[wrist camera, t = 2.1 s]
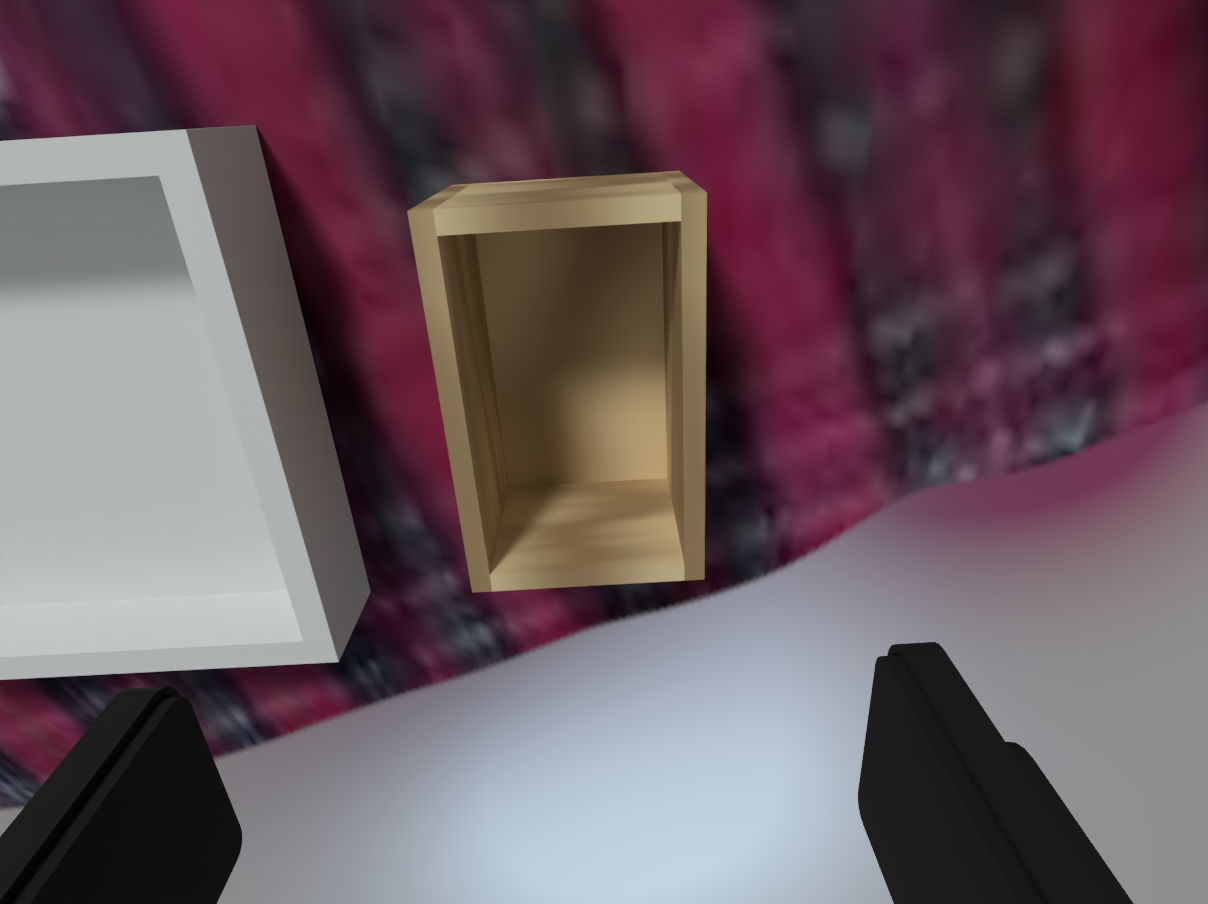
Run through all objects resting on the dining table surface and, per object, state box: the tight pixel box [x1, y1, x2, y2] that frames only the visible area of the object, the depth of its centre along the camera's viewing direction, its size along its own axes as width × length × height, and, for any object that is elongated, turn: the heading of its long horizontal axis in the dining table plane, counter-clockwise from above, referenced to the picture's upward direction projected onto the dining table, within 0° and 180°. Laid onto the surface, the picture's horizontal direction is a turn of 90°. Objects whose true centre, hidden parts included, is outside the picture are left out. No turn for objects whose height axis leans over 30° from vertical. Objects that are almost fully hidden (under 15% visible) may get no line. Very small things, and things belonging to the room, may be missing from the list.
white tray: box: [0, 125, 371, 680], centre depth 23 cm, size 18×17×4 cm
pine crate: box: [407, 171, 707, 592], centre depth 22 cm, size 7×11×6 cm, turn 3°
